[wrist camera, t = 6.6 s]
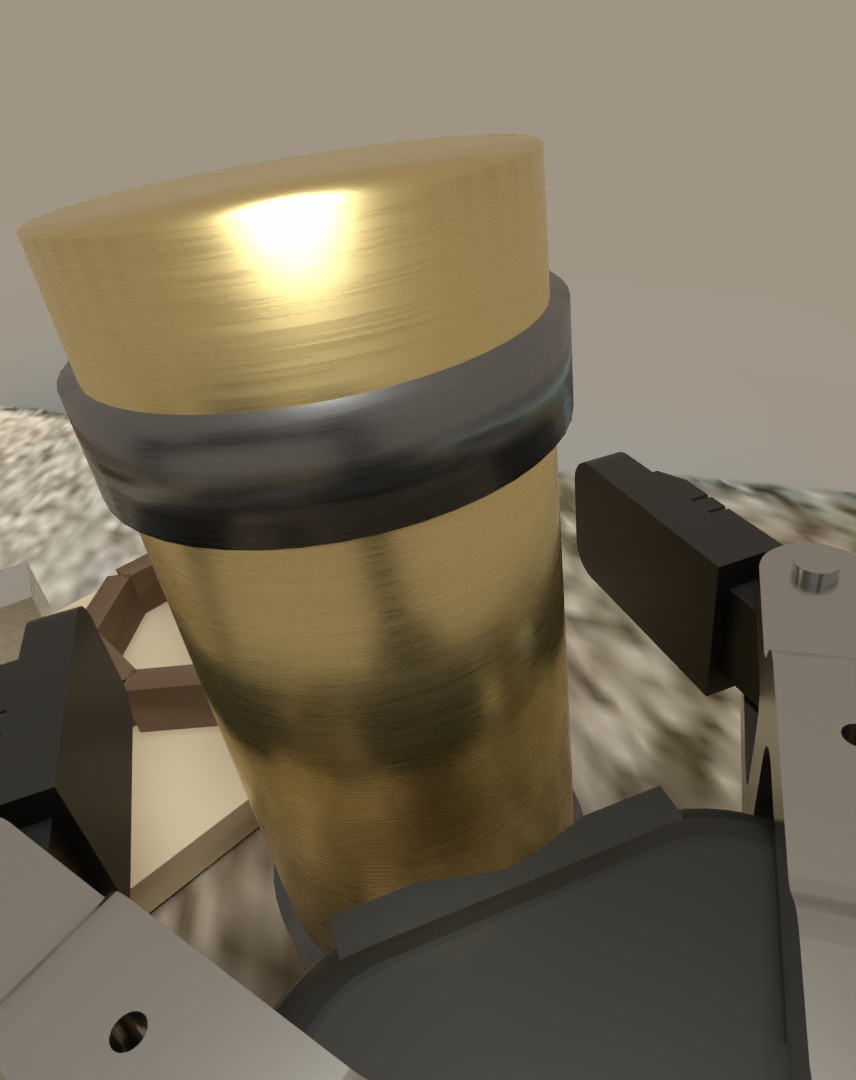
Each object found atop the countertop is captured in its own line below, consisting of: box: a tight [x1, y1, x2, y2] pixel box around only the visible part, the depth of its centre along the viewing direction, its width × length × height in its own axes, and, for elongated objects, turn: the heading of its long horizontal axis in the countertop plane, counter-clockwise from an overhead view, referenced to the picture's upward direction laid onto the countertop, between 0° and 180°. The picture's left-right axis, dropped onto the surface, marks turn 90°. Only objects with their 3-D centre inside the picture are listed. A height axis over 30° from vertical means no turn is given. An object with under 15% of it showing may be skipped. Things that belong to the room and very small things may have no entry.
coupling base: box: [54, 554, 259, 913], centre depth 23 cm, size 17×12×3 cm
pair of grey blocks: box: [0, 561, 54, 665], centre depth 22 cm, size 17×3×2 cm, turn 134°
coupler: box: [17, 134, 583, 970], centre depth 11 cm, size 5×5×14 cm
